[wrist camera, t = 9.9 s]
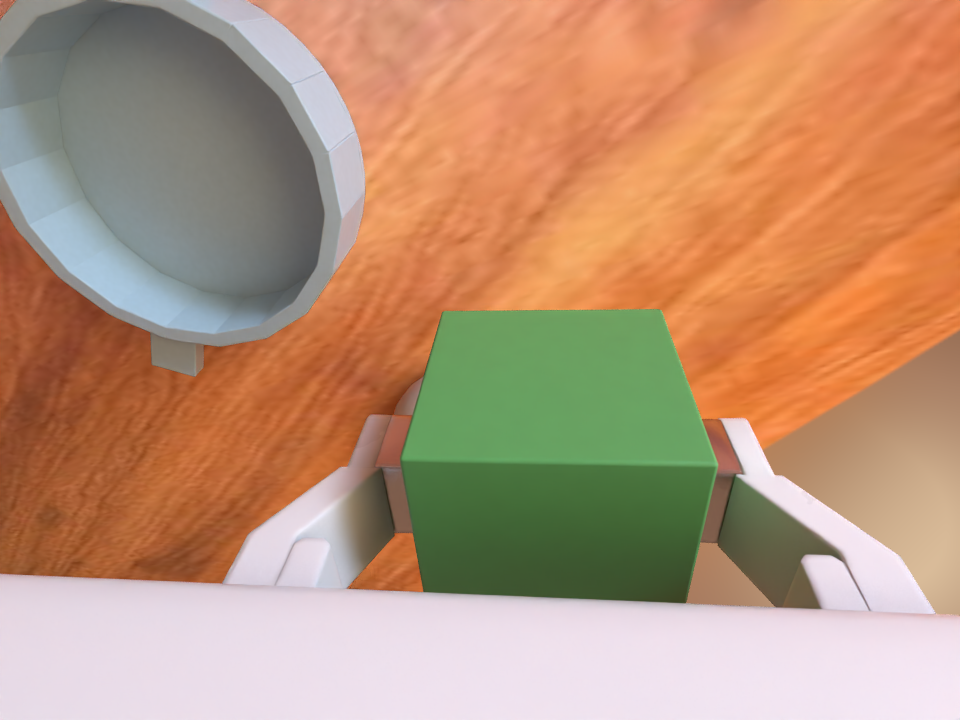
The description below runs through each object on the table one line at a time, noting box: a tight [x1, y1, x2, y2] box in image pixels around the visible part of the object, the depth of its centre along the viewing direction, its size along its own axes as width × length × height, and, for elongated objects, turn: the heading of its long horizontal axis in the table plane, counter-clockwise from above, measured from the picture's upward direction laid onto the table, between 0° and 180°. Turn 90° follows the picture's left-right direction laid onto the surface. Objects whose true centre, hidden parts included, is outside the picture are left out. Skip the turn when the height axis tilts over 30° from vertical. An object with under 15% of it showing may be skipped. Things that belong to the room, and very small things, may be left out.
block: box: [400, 309, 718, 603], centre depth 11 cm, size 5×5×5 cm
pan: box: [0, 0, 365, 377], centre depth 27 cm, size 16×21×4 cm
